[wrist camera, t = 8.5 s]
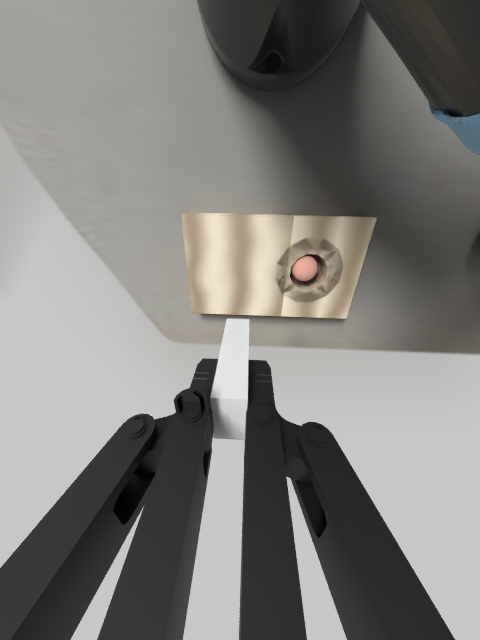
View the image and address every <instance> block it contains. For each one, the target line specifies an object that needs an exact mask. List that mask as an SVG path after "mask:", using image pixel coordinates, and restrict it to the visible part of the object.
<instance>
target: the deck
mask: <svg viewBox="0 0 480 640" xmlns="http://www.w3.org/2000/svg"><path fill="white" fill-rule="evenodd" d="M181 216H182V225H183V234H184V244H185V253H186V262H187V271H188V281H189V290H190V299H191V309H192V313H205V314H232V315H259V316H287V317H314V318H342V319H346V318H347V314H348V311H349V308H350V304H351V301H352V298H353V295H354V291H355V288H356V285H357V282H358V278H359V275H360V272H361V269H362V265H363V262H364V259H365V255H366V252H367V249H368V246H369V242H370V239H371V236H372V233H373V229H374V226H375V223H376V220H377V218H376V217H363V216H317V215H271V214H225V213H181ZM306 254H317V255H319V256H320V259H321V262H322V268H321V272H320V274H319V275H318V276H317V278H316V279H315V280H314V281H311V282H309V283H307V284H297V283H295V282H294V281H292V280H291V278H290V272H291V267H292V265H293V264H294V263H295V261H296V260H297V259H298V258H300V257H302V256H304V255H306Z"/></svg>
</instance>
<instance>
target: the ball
mask: <svg viewBox="0 0 480 640" xmlns="http://www.w3.org/2000/svg"><path fill="white" fill-rule="evenodd" d="M317 269H318V266H317V262H316V260H315V259H314V258H312V257H311V256H307V255H305V256H302V257H300V258H298V259H297V260H296V261H295V263H294V264H293V265H292V274H293V275H294V277H295V278H296V279H298V280H300V281H307V280H310V279H312V278H313V277H314V276H315V274H316V273H317Z"/></svg>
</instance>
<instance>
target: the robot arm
mask: <svg viewBox="0 0 480 640" xmlns="http://www.w3.org/2000/svg"><path fill="white" fill-rule="evenodd" d="M360 2H361V3H362V4H363V6H364V7H365V9H366V10H367V11H368V13H369V14H370V16H371V17H372V19H373V20H374V21H375V23H376V24H377V26H378V27H379V29H380V30H381V31H382V33H383V34H384V36H385V37H386V38H387V40H388V41H389V43H390V44H391V46H392V47H393V48H394V50H395V51H396V53H397V54H398V56H399V57H400V58H401V60H402V61H403V63H404V64H405V66H406V67H407V69H408V70H409V72H410V74H411V75H412V77H413V78H414V80H415V81H416V83H417V84H418V86H419V87H420V89H421V90H422V92H423V93H424V95H425V96H426V98H427V99H428V101H429V107H430V110H431V113H432V114H433V116H434V117H435V118H436V119H437V120H439V121H441V122H444V123H446V124H447V125H448V126H449V127H450V128H451V129H452V131H453V132H454V133H455V134H456V136H457V137H458V138H459V139H460V141H461V142H462V143H463V144H464V145H465V146H466V147H467V148H468V149H469V150H471V151H472V152H474V153H477V154H479V155H480V0H197V3H198V7H199V11H200V14H201V18H202V22H203V25H204V28H205V30H206V33H207V36H208V38H209V40H210V42H211V45H212V46H213V48H214V50H215V52H216V54H217V55H218V57H219V58H220V60H221V61H222V63H223V64H224V65H225V66H226V68H227V69H228V70H229V71H230V72H231V73H232V74H233V75H234V76H235V77H236V78H238V79H239V80H241V81H242V82H244V83H245V84H247V85H249V86H251V87H254V88H257V89H261V90H267V91H275V90H282V89H286V88H290V87H292V86H295V85H297V84H299V83H300V82H302V81H304V80H305V79H307V78H308V77H310V76H311V75H312V74H313V73H314V72H316V71H317V70H318V69H319V68H320V67H321V66H322V65H323V64H324V62H325V61H326V60H327V59H328V58H329V56H330V55H331V54H332V52H333V51H334V50H335V48H336V47H337V45H338V43H339V42H340V40H341V38H342V37H343V35H344V33H345V31H346V29H347V28H348V26H349V24H350V22H351V20H352V18H353V16H354V14H355V12H356V10H357V8H358V6H359V4H360ZM248 355H249V319H228V318H227V321H226V325H225V330H224V335H223V340H222V344H221V349H220V354H219V359H202V361H201V362H200V363H199V364H198V365H197V368H196V371H195V374H194V377H193V380H192V383H191V386H190V388H188V389H186V390H183V391H181V392H180V393H179V394H178V395H177V396H176V397H175V399H174V404H175V409H176V413H175V414H173V415H170V416H167V417H163V418H159V419H155V420H154V419H153V417H152V416H150V415H149V414H139V415H135V416H133V417H131V418H129V419H128V420H127V421H126V422H125V423H123V425H122V426H121V427H120V428H119V429H118V430H117V432H116V433H115V434H114V435H113V436H112V437H111V439H110V440H109V441H108V442H107V443H106V445H105V446H104V447H103V448H102V449H101V450H100V452H99V453H98V454H97V455H96V456H95V457H94V459H93V460H92V461H91V462H90V463H89V465H88V466H87V467H86V468H85V469H84V471H83V472H82V473H81V474H80V475H79V476H78V478H77V479H76V480H75V481H74V482H73V483H72V485H71V486H70V487H69V488H68V489H67V490H66V492H65V493H64V494H63V495H62V496H61V498H60V499H59V500H58V501H57V502H56V504H55V505H54V506H53V507H52V508H51V509H50V510H49V512H48V513H47V514H46V515H45V516H44V517H43V519H42V520H41V521H40V522H39V523H38V525H37V526H36V527H35V528H34V529H33V530H32V532H31V533H30V534H29V535H28V537H27V538H26V539H25V540H24V541H23V542H22V543H21V545H20V546H19V547H18V548H17V549H16V550H15V552H14V553H13V554H12V555H11V556H10V558H9V559H8V560H7V561H6V562H5V563H4V565H3V566H2V567H1V568H0V640H70V639H71V637H72V636H73V634H74V632H75V630H76V628H77V626H78V624H79V623H80V621H81V619H82V617H83V616H84V614H85V612H86V610H87V608H88V606H89V605H90V603H91V601H92V599H93V597H94V595H95V594H96V592H97V590H98V588H99V586H100V585H101V583H102V581H103V579H104V577H105V575H106V574H107V572H108V570H109V568H110V566H111V564H112V563H113V561H114V559H115V557H116V555H117V554H118V552H119V550H120V548H121V546H122V544H123V543H124V541H125V539H126V537H127V535H128V534H129V532H130V530H131V528H132V526H133V524H134V522H135V521H136V519H137V517H138V515H139V514H140V512H141V510H142V508H143V506H144V508H143V511H142V514H141V517H140V520H139V522H138V525H137V528H136V531H135V534H134V537H133V540H132V542H131V546H130V548H129V551H128V554H127V557H126V560H125V562H124V565H123V568H122V571H121V574H120V577H119V580H118V582H117V585H116V588H115V591H114V594H113V597H112V600H111V602H110V605H109V608H108V611H107V614H106V617H105V619H104V623H103V625H102V628H101V631H100V634H99V636H98V639H97V640H183V634H184V627H185V621H186V614H187V608H188V602H189V595H190V589H191V582H192V576H193V569H194V563H195V557H196V549H197V544H198V537H199V531H200V524H201V518H202V511H203V505H204V499H205V492H206V486H207V479H208V473H209V467H210V460H211V453H212V445H211V444H212V438H213V437H214V438H220V439H239V440H245V453H244V487H243V489H244V490H243V523H242V557H241V558H242V559H241V589H240V592H241V593H240V625H239V626H240V627H239V640H307V637H306V629H305V621H304V613H303V605H302V598H301V589H300V582H299V574H298V566H297V558H296V550H295V543H294V534H293V526H292V518H291V511H290V503H289V495H288V487H287V479H286V476H287V477H289V478H291V480H292V484H293V486H294V489H295V492H296V495H297V498H298V500H299V503H300V506H301V509H302V512H303V515H304V518H305V521H306V524H307V526H308V529H309V532H310V535H311V538H312V541H313V543H314V546H315V549H316V552H317V555H318V558H319V560H320V564H321V566H322V569H323V572H324V575H325V578H326V580H327V583H328V586H329V589H330V592H331V595H332V597H333V601H334V603H335V606H336V609H337V612H338V615H339V618H340V621H341V623H342V626H343V629H344V632H345V635H346V638H347V640H455V639H454V637H453V635H452V634H451V632H450V630H449V629H448V627H447V625H446V624H445V622H444V620H443V619H442V617H441V615H440V614H439V612H438V610H437V609H436V607H435V605H434V604H433V602H432V601H431V599H430V597H429V595H428V594H427V592H426V590H425V589H424V587H423V585H422V584H421V582H420V580H419V579H418V577H417V575H416V574H415V572H414V570H413V569H412V567H411V565H410V563H409V562H408V560H407V559H406V557H405V555H404V554H403V552H402V550H401V549H400V547H399V545H398V543H397V542H396V540H395V538H394V537H393V535H392V533H391V532H390V530H389V528H388V527H387V525H386V523H385V522H384V520H383V518H382V517H381V515H380V513H379V512H378V510H377V508H376V507H375V505H374V503H373V501H372V500H371V498H370V496H369V495H368V493H367V492H366V490H365V488H364V486H363V485H362V484H361V481H360V480H359V478H358V477H357V475H356V473H355V471H354V470H353V468H352V466H351V465H350V463H349V461H348V460H347V458H346V456H345V455H344V453H343V451H342V450H341V448H340V446H339V445H338V443H337V441H336V440H335V438H334V436H333V435H332V433H331V432H330V431H329V430H328V429H327V428H326V427H324V426H323V425H321V424H319V423H316V422H307V423H305V424H303V425H302V426H299V425H296V424H293V423H291V422H289V421H287V420H285V419H284V418H282V417H281V416H280V415H279V414H278V412H277V410H276V407H275V402H274V393H273V385H272V376H271V368H270V366H269V364H268V363H267V361H262V360H248ZM144 504H145V505H144Z"/></svg>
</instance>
